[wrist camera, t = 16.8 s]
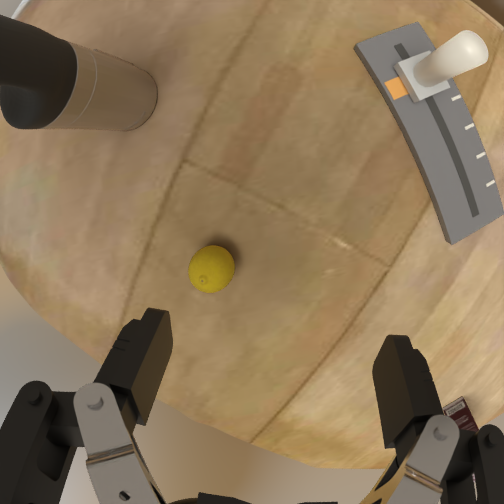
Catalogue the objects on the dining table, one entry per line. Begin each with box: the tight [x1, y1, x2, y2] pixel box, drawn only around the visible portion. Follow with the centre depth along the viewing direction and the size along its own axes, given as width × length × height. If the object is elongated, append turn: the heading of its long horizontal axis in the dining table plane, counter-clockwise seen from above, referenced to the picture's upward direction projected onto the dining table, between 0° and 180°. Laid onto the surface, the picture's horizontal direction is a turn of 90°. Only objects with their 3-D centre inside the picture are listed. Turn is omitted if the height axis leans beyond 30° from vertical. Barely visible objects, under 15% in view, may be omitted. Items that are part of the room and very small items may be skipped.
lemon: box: [188, 245, 235, 293], centre depth 39 cm, size 6×6×8 cm
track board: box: [354, 22, 504, 245], centre depth 32 cm, size 28×10×2 cm, turn 30°
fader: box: [393, 30, 488, 103], centre depth 23 cm, size 5×5×14 cm
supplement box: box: [443, 397, 479, 482], centre depth 38 cm, size 9×5×16 cm, turn 35°
